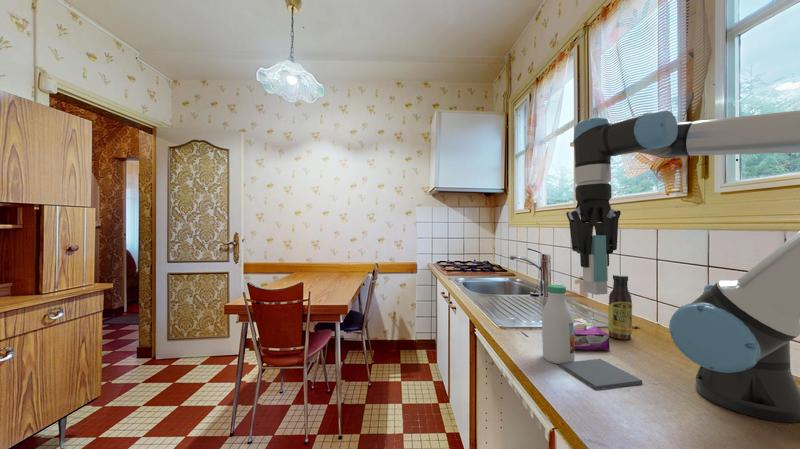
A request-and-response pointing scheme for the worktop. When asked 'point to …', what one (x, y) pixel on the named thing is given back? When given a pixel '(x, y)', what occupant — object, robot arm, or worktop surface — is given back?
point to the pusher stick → (598, 266)
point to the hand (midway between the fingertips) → (595, 280)
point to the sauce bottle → (620, 309)
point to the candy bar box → (589, 336)
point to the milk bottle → (557, 327)
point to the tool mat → (600, 374)
